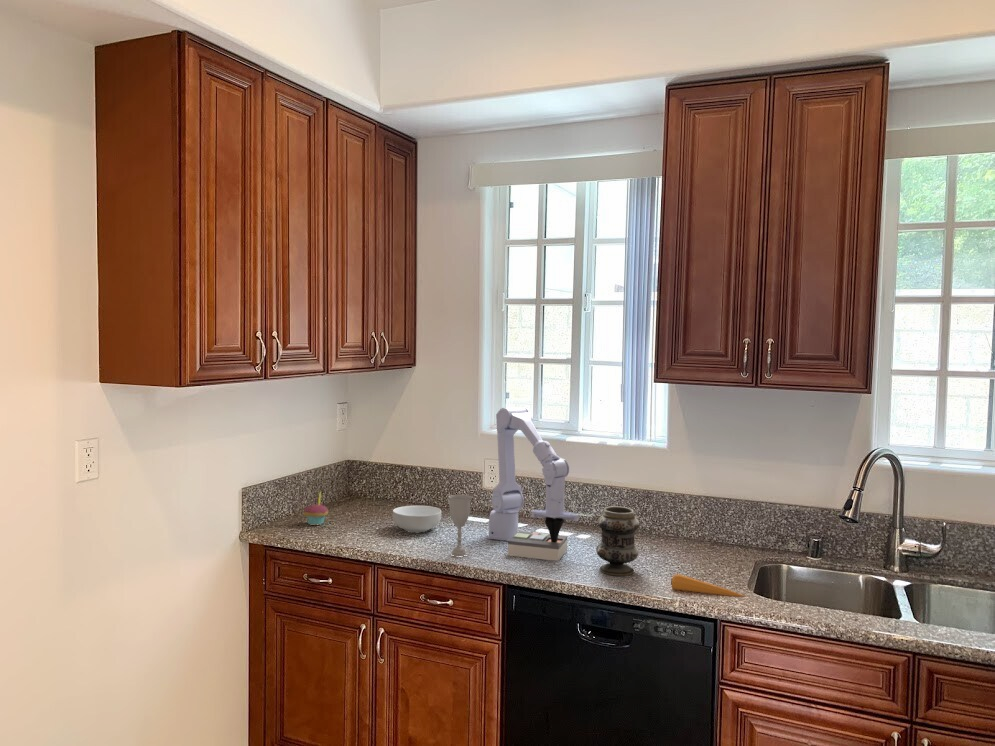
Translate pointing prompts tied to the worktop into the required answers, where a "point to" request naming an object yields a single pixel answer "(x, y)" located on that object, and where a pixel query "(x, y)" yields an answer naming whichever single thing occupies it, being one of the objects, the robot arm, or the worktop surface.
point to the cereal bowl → (416, 518)
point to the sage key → (522, 536)
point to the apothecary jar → (617, 540)
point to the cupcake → (316, 512)
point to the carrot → (698, 586)
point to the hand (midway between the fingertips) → (554, 542)
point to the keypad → (537, 547)
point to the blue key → (538, 537)
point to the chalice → (459, 518)
